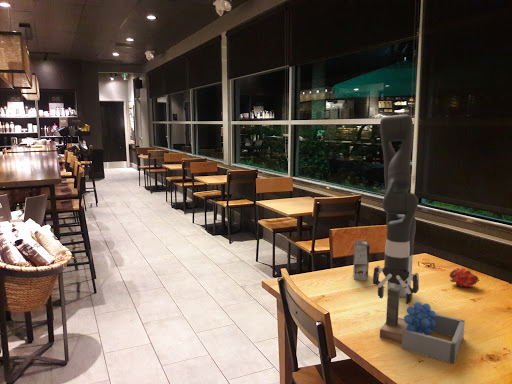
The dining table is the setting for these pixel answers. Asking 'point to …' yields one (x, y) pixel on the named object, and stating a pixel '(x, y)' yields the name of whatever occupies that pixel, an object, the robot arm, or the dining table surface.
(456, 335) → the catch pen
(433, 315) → the grapes
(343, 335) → the dining table surface
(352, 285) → the dining table surface
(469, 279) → the dragon fruit
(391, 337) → the post on wooden base
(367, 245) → the coffee box
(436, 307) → the dining table surface
